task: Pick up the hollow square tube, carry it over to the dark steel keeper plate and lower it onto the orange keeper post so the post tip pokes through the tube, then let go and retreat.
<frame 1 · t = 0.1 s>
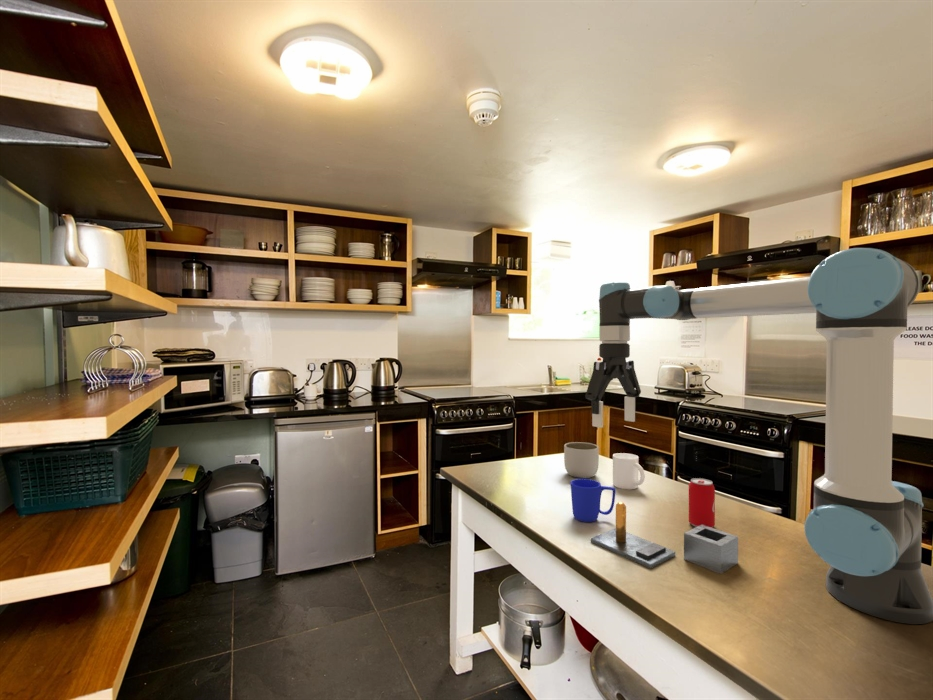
hand: (614, 423, 116), 28 cm above the table, fingers open, 13 cm apart
mug: (592, 519, 124), on the table
planter: (581, 475, 165), on the table
beverage can: (701, 526, 120), on the table
hollow square tube: (710, 561, 100), on the table
keeper: (631, 548, 106), on the table
mug 2: (629, 488, 151), on the table
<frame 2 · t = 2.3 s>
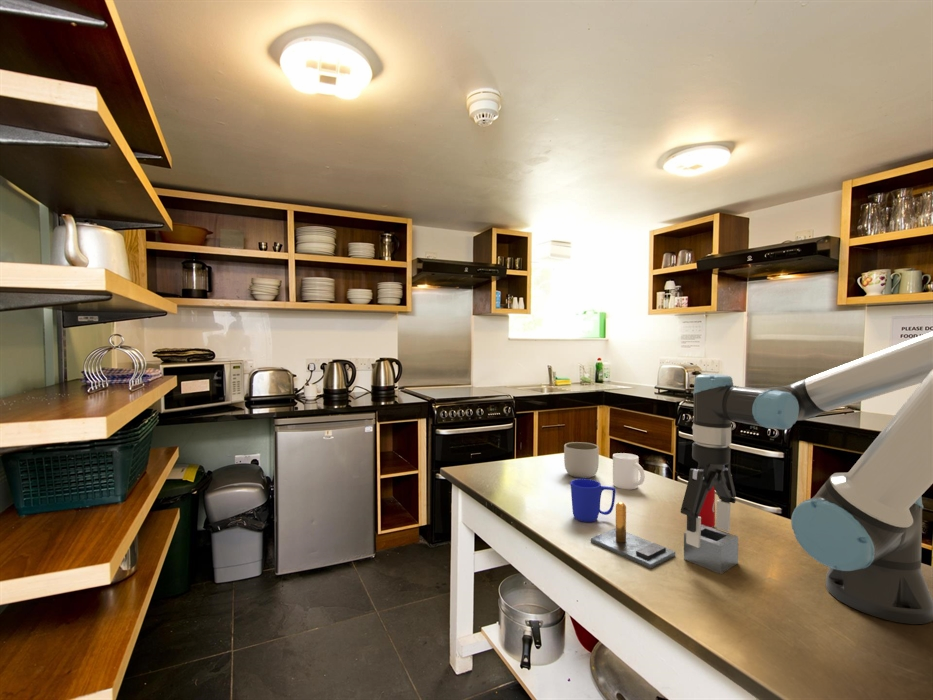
hand: (708, 537, 100), 5 cm above the table, fingers open, 13 cm apart
nothing on the table moved.
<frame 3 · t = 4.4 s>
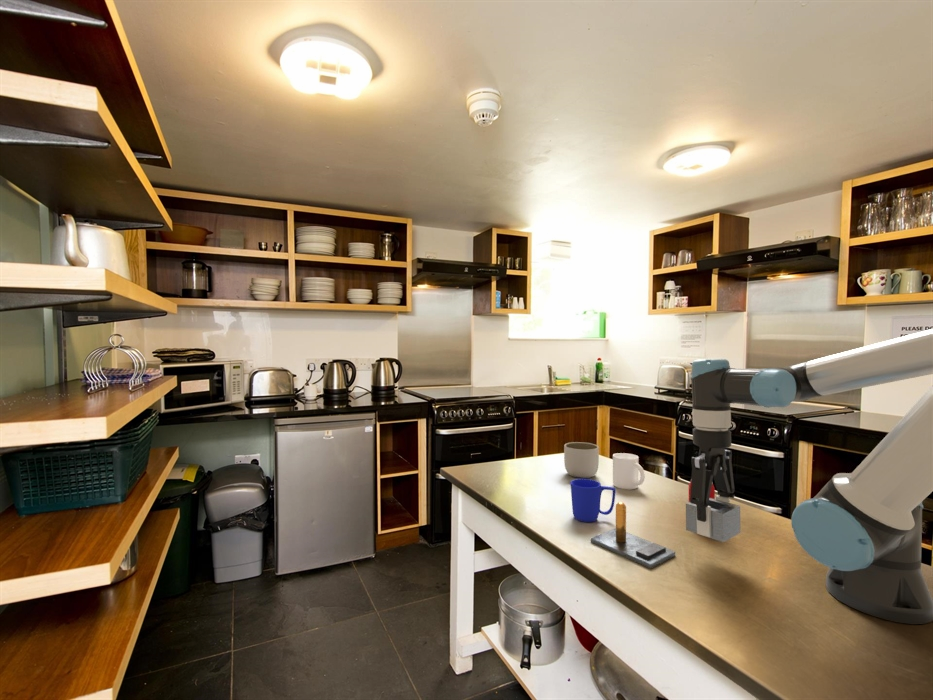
hand: (713, 530, 99), 7 cm above the table, fingers closed on hollow square tube, 8 cm apart
hollow square tube: (713, 531, 99), point 7 cm above the table, touching gripper
everything else where it was.
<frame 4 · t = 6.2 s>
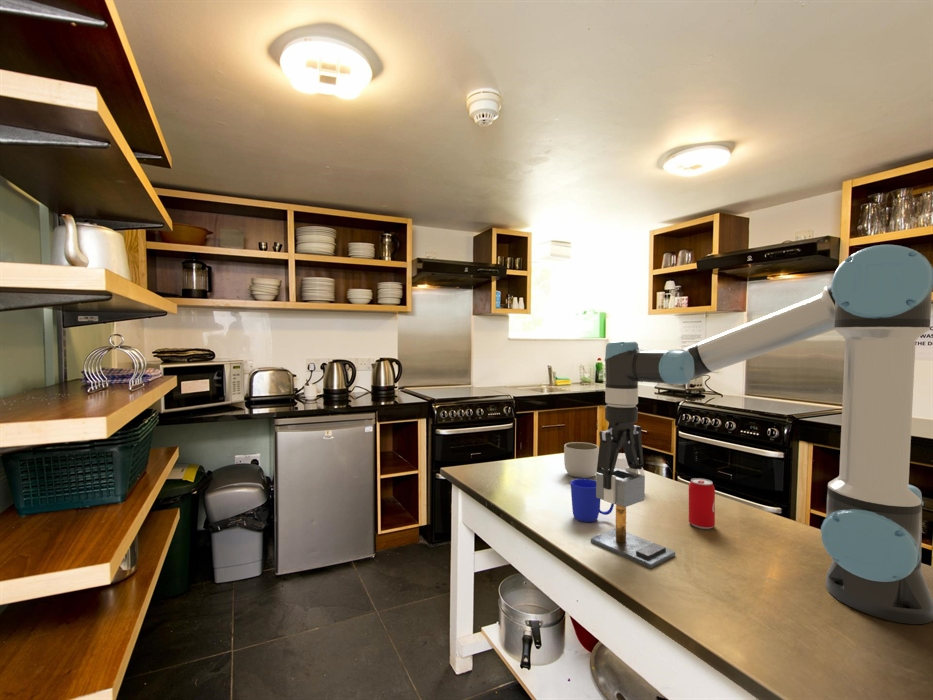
hand: (620, 498, 108), 11 cm above the table, fingers closed on hollow square tube, 8 cm apart
hollow square tube: (620, 498, 109), point 11 cm above the table, touching gripper
everything else where it was.
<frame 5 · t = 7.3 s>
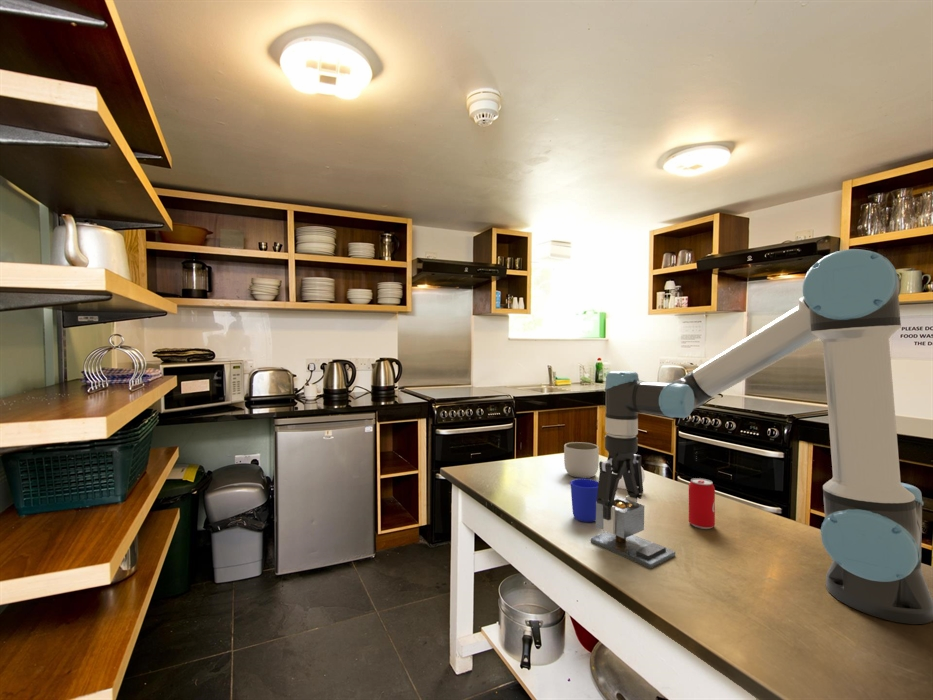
hand: (620, 527, 109), 4 cm above the table, fingers closed on hollow square tube, 8 cm apart
hollow square tube: (619, 528, 109), point 4 cm above the table, touching gripper
everything else where it was.
when the fingers open (2 cm above the table, at t = 8.2 s): hollow square tube stays where it is, resting on keeper.
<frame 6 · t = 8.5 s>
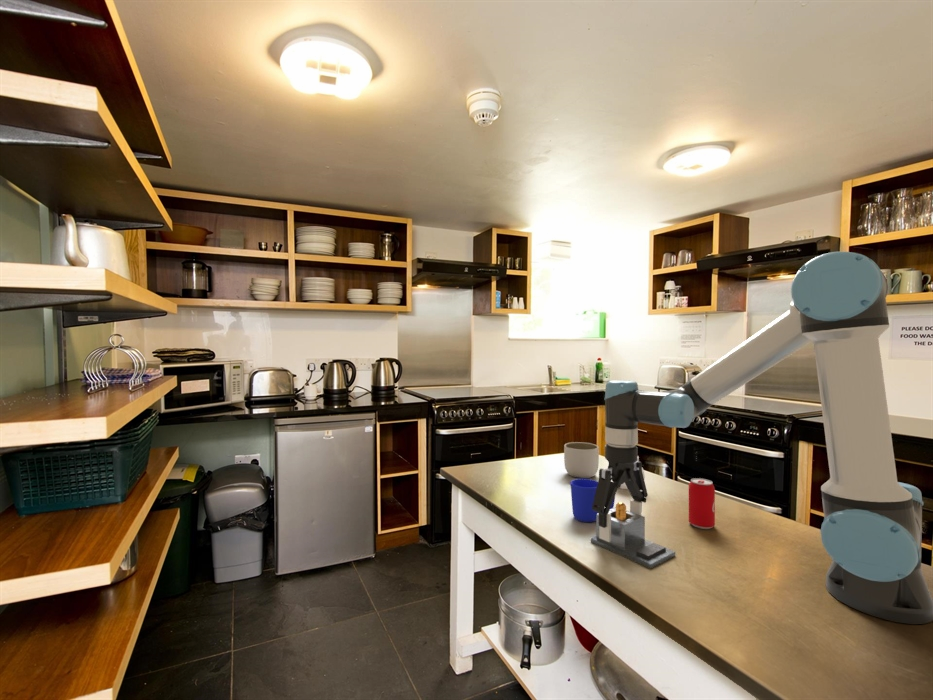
hand: (620, 533, 109), 3 cm above the table, fingers open, 11 cm apart
hollow square tube: (620, 539, 109), point 1 cm above the table, touching keeper
everything else where it was.
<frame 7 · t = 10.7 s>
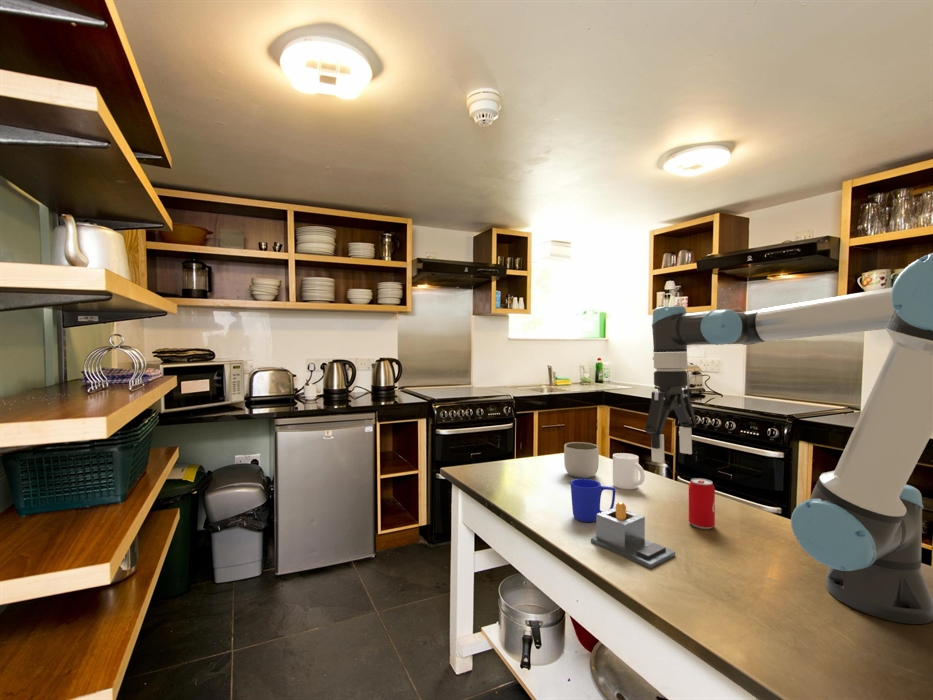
hand: (672, 457, 108), 21 cm above the table, fingers open, 13 cm apart
nothing on the table moved.
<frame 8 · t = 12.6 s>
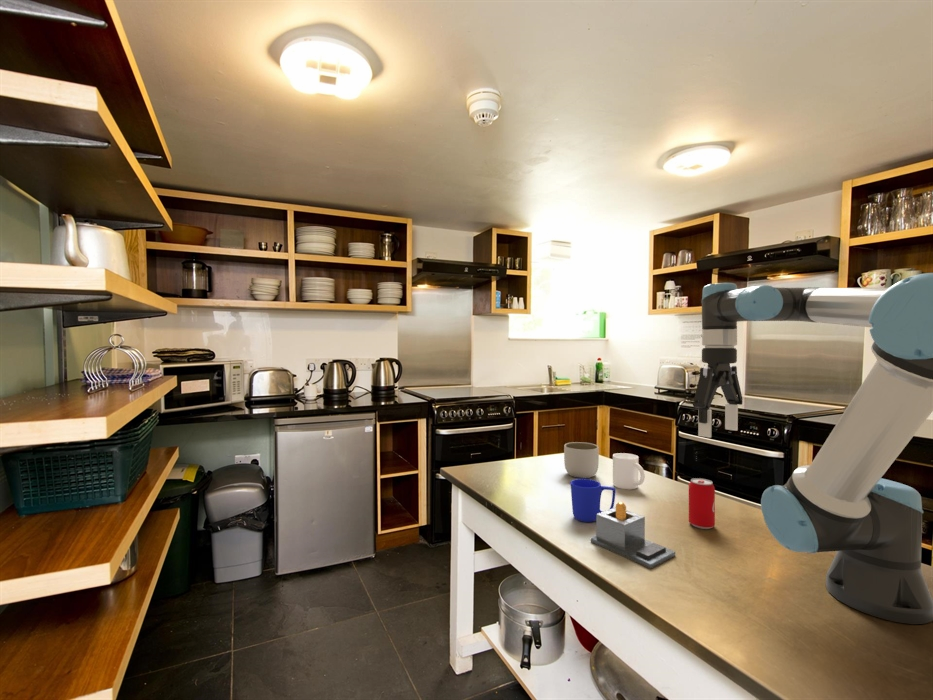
hand: (718, 433, 110), 27 cm above the table, fingers open, 13 cm apart
nothing on the table moved.
at the end: hollow square tube 0.2 cm from the target spot on the keeper, point 1.0 cm above the keeper's base; the gripper is holding nothing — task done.
